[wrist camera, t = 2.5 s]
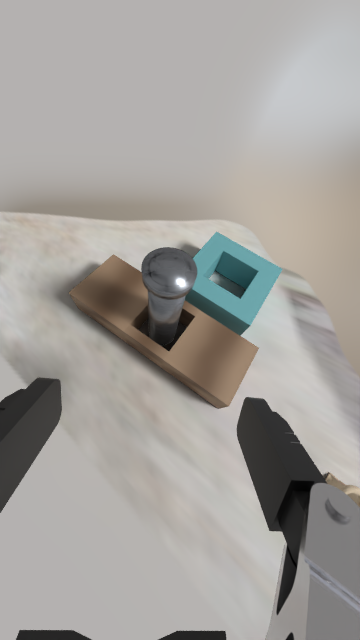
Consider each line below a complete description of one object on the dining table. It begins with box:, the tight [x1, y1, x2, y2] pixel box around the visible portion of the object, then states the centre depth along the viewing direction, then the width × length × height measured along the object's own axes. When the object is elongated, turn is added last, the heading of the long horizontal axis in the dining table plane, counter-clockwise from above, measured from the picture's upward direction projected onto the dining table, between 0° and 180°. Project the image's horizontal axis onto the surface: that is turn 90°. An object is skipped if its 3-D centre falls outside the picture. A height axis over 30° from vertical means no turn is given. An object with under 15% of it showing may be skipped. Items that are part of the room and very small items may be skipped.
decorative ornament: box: [325, 473, 360, 507], centre depth 18 cm, size 4×8×5 cm, turn 31°
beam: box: [69, 254, 259, 409], centre depth 24 cm, size 20×7×4 cm, turn 56°
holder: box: [185, 232, 282, 335], centre depth 28 cm, size 10×10×4 cm
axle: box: [142, 247, 197, 345], centre depth 21 cm, size 4×4×12 cm
